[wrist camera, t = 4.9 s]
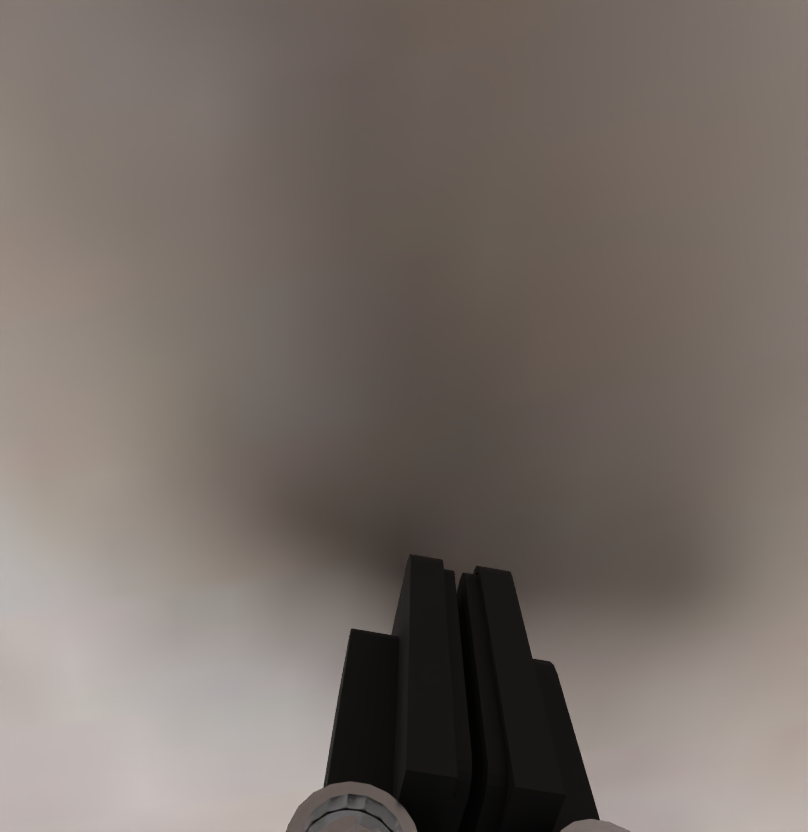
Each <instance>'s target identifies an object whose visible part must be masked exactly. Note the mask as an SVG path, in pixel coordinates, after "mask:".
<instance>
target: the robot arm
mask: <svg viewBox="0 0 808 832" xmlns="http://www.w3.org/2000/svg"><path fill="white" fill-rule="evenodd" d="M286 832H630V831H629V830H626V829H624V828H622V827H620V826H617V825H615V824H613V823H611V822H607V821H601V820H600V819H599V815H598V812H597V808H596V805H595V802H594V798H593V795H592V791H591V788H590V784H589V781H588V778H587V774H586V771H585V767H584V764H583V760H582V757H581V754H580V750H579V747H578V743H577V740H576V736H575V733H574V729H573V726H572V723H571V719H570V716H569V712H568V709H567V705H566V702H565V699H564V695H563V692H562V688H561V685H560V681H559V678H558V675H557V672H556V669H555V667H554V665H553V664H552V663H551V662H550V661H544V660H538V659H532V655H531V651H530V647H529V642H528V638H527V634H526V630H525V626H524V622H523V618H522V614H521V610H520V606H519V602H518V598H517V594H516V590H515V586H514V582H513V578H512V575H511V572H509V571H505V570H499V569H493V568H487V567H481V566H476V567H475V569H474V572H473V574H470V573H462V576H461V578H460V582H459V586H458V590H457V594H456V583H455V574H454V571H452V570H446V569H444V567H443V560H441V559H435V558H429V557H423V556H417V555H412V554H410V555H409V558H408V561H407V565H406V570H405V575H404V579H403V584H402V588H401V593H400V598H399V602H398V607H397V612H396V616H395V621H394V625H393V630H392V635H387V634H381V633H375V632H369V631H363V630H357V629H351V631H350V636H349V641H348V646H347V652H346V657H345V662H344V668H343V673H342V679H341V684H340V690H339V696H338V701H337V707H336V713H335V719H334V725H333V731H332V738H331V744H330V750H329V756H328V762H327V768H326V775H325V781H324V787H323V788H322V789H320V790H318V791H316V792H313V793H312V794H311V795H310V796H309V797H308V798H307V799H306V800H305V801H304V802H303V803H302V804H300V805H299V806H298V808H297V810H296V812H295V814H294V815H293V817H292V819H291V821H290V823H289V824H288V827H287V830H286Z"/></svg>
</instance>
